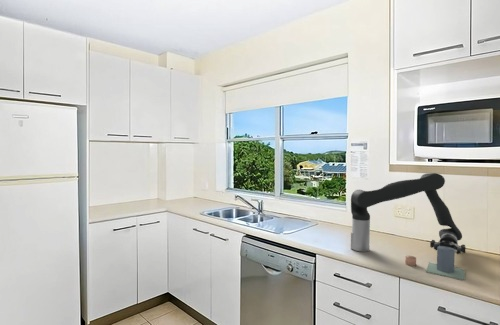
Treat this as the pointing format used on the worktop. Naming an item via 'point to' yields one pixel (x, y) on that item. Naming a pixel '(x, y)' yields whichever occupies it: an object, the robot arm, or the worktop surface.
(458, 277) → the mat
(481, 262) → the worktop surface
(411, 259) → the cylinder
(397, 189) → the robot arm
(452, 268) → the grey octagonal prism
